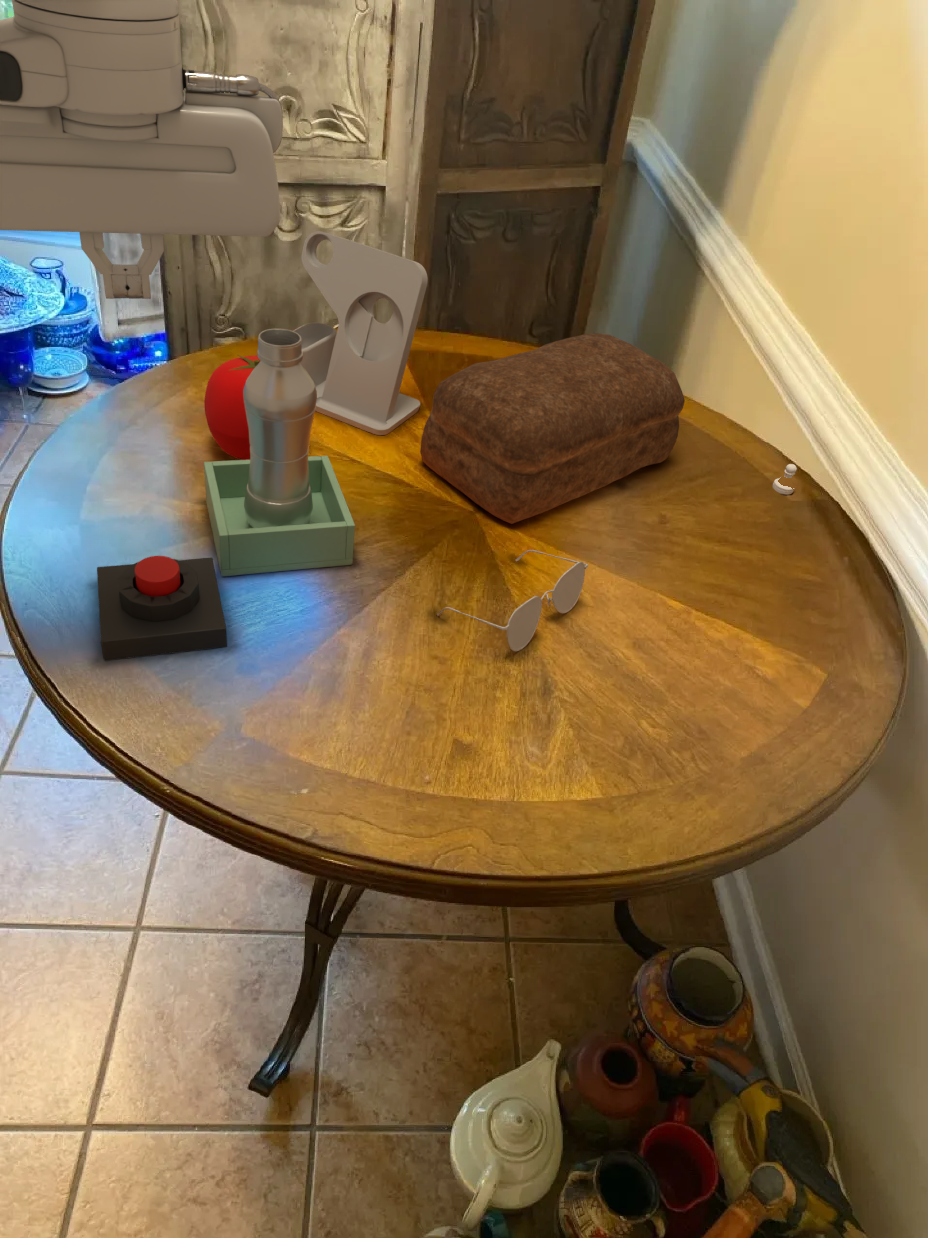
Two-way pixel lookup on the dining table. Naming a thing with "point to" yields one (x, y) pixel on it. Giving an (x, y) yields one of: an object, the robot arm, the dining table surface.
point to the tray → (281, 545)
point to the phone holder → (362, 333)
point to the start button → (157, 576)
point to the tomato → (230, 406)
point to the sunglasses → (529, 612)
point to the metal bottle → (279, 432)
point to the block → (160, 613)
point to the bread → (551, 423)
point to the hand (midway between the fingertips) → (128, 295)
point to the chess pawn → (789, 472)
